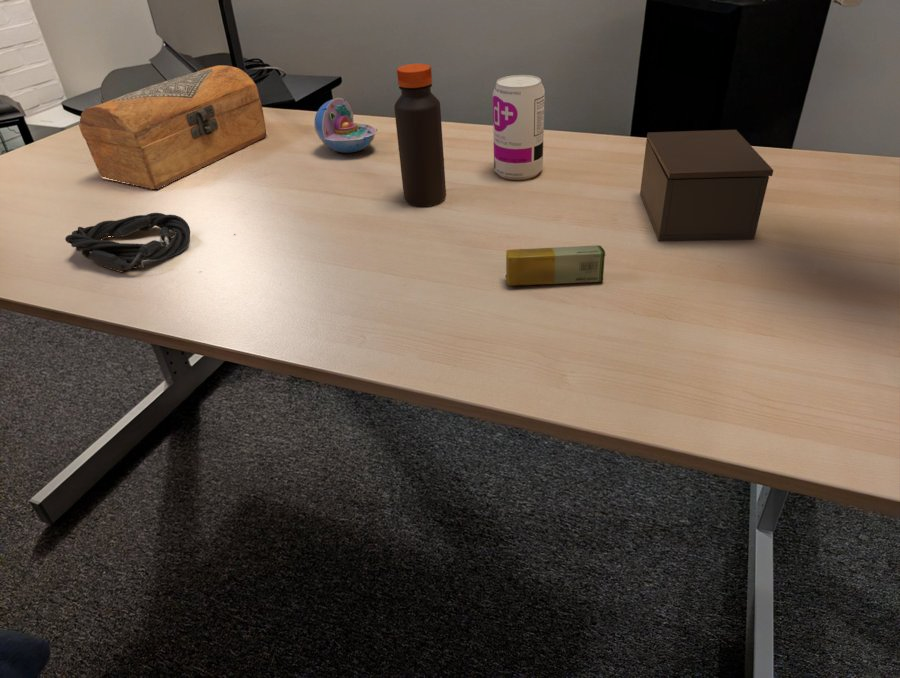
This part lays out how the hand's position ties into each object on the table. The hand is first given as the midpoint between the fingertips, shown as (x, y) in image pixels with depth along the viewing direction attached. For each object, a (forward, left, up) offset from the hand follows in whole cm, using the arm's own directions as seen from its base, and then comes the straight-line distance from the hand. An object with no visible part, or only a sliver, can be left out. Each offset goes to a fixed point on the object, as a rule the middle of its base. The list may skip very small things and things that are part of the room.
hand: (844, 4), depth 67 cm
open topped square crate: (+8, -12, -29) cm, 32 cm away
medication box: (+29, +6, -29) cm, 42 cm away
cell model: (+65, -43, -29) cm, 83 cm away
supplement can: (+33, -30, -29) cm, 53 cm away
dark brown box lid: (+8, -12, -20) cm, 24 cm away
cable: (+90, -5, -29) cm, 95 cm away
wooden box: (+96, -42, -29) cm, 109 cm away
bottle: (+48, -20, -29) cm, 60 cm away
